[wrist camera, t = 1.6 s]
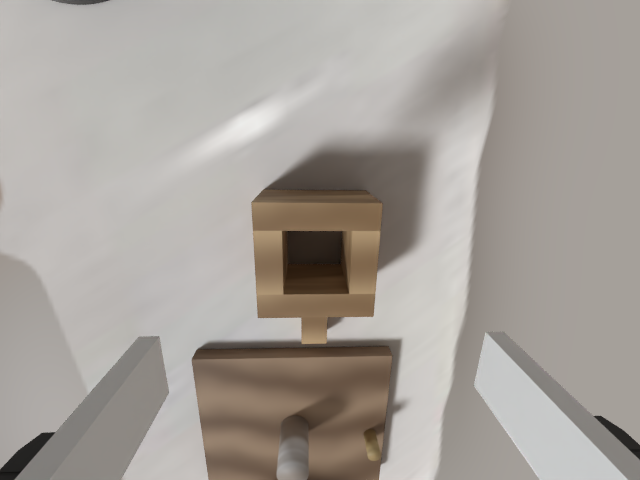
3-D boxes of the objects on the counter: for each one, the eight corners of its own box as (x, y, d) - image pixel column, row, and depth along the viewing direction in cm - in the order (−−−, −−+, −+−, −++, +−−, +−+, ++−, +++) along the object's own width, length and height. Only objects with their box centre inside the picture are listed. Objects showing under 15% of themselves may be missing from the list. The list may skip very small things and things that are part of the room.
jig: (196, 349, 30) (169, 401, 24) (388, 346, 31) (408, 395, 25) (213, 473, 36) (194, 541, 30) (375, 467, 37) (390, 532, 31)
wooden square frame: (263, 189, 26) (251, 202, 20) (365, 190, 26) (382, 203, 20) (269, 331, 30) (261, 375, 24) (356, 330, 31) (368, 373, 25)
